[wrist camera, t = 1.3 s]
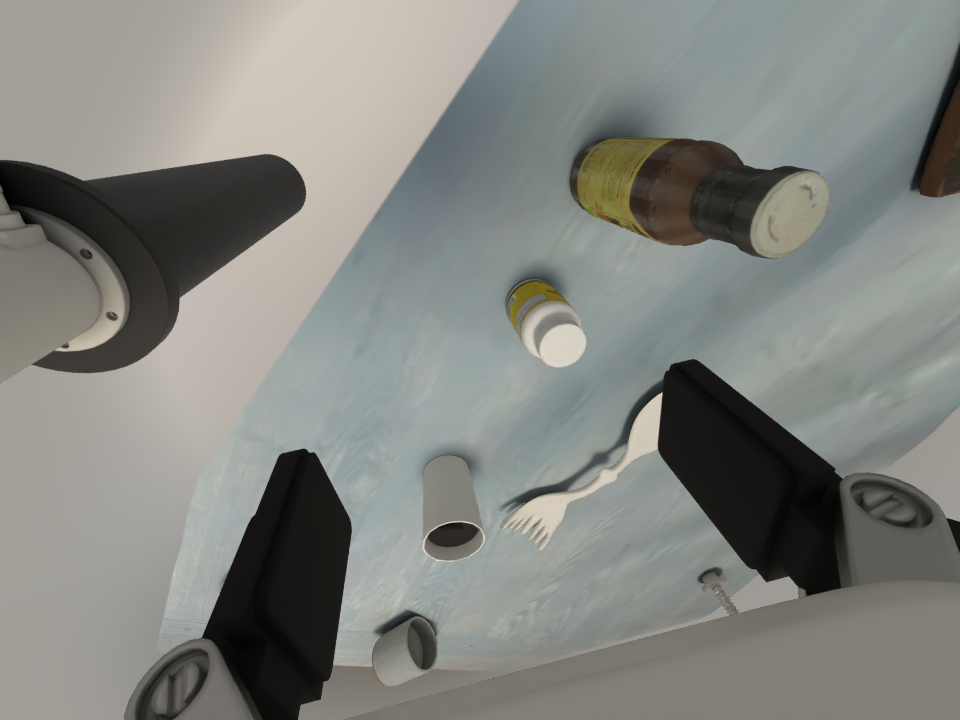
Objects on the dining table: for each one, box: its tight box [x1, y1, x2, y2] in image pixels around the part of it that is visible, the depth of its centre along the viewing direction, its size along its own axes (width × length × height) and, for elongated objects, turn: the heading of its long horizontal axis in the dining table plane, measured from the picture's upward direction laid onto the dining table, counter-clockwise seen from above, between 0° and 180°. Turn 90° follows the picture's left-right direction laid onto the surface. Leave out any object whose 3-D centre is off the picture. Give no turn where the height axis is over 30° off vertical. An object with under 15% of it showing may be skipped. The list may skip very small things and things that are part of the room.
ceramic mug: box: [372, 616, 438, 686], centre depth 64 cm, size 11×8×8 cm
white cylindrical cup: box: [423, 455, 485, 562], centre depth 46 cm, size 7×7×10 cm
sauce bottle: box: [571, 137, 830, 259], centre depth 27 cm, size 6×6×20 cm
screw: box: [702, 571, 739, 616], centre depth 68 cm, size 13×5×5 cm
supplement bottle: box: [506, 279, 586, 367], centre depth 36 cm, size 5×5×10 cm
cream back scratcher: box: [500, 392, 663, 551], centre depth 52 cm, size 9×32×4 cm, turn 134°
